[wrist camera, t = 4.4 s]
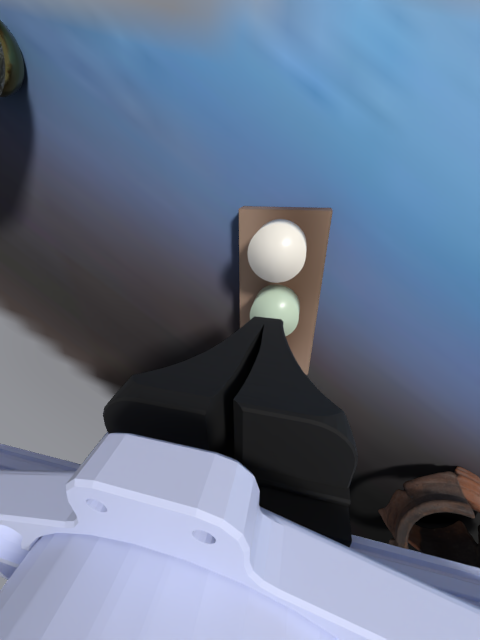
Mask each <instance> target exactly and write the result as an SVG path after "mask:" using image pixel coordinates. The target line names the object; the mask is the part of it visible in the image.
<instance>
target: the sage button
mask: <svg viewBox="0 0 480 640" xmlns="http://www.w3.org/2000/svg"><path fill="white" fill-rule="evenodd" d="M299 310H300V302H299V299H298V297H297V295H296V294H295V292H294V291H293V290H291V289H290V288H288V287H286V286H284V285H279V284H274V285H269V286H266V287H264V288H263V289H262V290H261V291H260V292H259V293H258V294H257V296H256V298H255V300H254V303H253V305H252V307H251V310H250V320H251V319H252V318H253V317H254V316H256V317H265V318H274V319H281V320H282V321H283V328H284V333H285V336H287V335H289V334H291V333H292V332H293V331H294V330H295V328H296V327H297V324H298V320H299Z"/></svg>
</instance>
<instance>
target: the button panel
mask: <svg viewBox="0 0 480 640" xmlns="http://www.w3.org/2000/svg"><path fill="white" fill-rule="evenodd" d="M331 217H332V209H331V208H304V207H252V206H243V207H241V208H239V282H240V328H241V327H242V326H244V325H245V324H246V323H247V322H248V321H249V320H250V310H251V307H252V305H253V303H254V300H255V298H256V296H257V294H258V293H259V292H260V291H261V290H262V289H263V288H264V287H266V286H269V285H274V284H279V285H284V286H286V287H288V288H290V289H291V290H293V291H294V292H295V294H296V295H297V297H298V299H299V302H300V310H299V320H298V324H297V327H296V328H295V330H294V331H293V332H292V333H291V334H289V335H287V336H286V339H287V342H288V345H289V347H290V349H291V351H292V353H293V355H294V357H295V359H296V361H297V363H298V364H299V366H300V367H301V369H302V370H303V372H304V373H305V374H307V375H308V370H309V363H310V357H311V350H312V343H313V337H314V330H315V323H316V317H317V310H318V304H319V297H320V290H321V284H322V277H323V270H324V264H325V257H326V250H327V244H328V237H329V230H330V224H331ZM277 219H285V220H289V221H291V222H293V223H295V224H296V225H298V226H299V227H300V228H301V230H302V231H303V233H304V235H305V237H306V242H307V249H306V259H305V263H304V265H303V267H302V269H301V271H300V272H299V273H298V274H297V275H296V276H295V277H293V278H292V279H290V280H288V281H285V282H279V283H274V282H269V281H266V280H264V279H262V278H260V277H259V276H258V275H256V274H255V272H254V271H253V270H252V268H251V266H250V264H249V261H248V246H249V243H250V241H251V239H252V238H253V236H254V235H255V234H256V233H257V232H258V231H259V229H260V228H261V227H262V226H263V225H265V224H266V223H268V222H270V221H272V220H277Z"/></svg>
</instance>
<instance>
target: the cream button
mask: <svg viewBox="0 0 480 640" xmlns="http://www.w3.org/2000/svg"><path fill="white" fill-rule="evenodd" d="M306 249H307V242H306V237H305V235H304V233H303V231H302V230H301V228H300V227H299V226H298V225H296V224H295V223H293V222H291V221H289V220H285V219H277V220H272V221H270V222H268V223H266V224H265V225H263V226H262V227H261V228H260V229H259V231H258V232H257V233H256V234H255V235H254V236H253V238H252V239H251V241H250V243H249V246H248V261H249V264H250V266H251V268H252V270H253V271H254V272H255V274H256V275H258V276H259V277H260V278H262V279H264V280H266V281H269V282H274V283H279V282H285V281H288V280H290V279H292V278H293V277H295V276H296V275H297V274H298V273H299V272H300V271H301V269H302V267H303V265H304V263H305V259H306Z"/></svg>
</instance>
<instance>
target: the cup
mask: <svg viewBox="0 0 480 640" xmlns="http://www.w3.org/2000/svg"><path fill="white" fill-rule="evenodd" d="M23 80H24V62H23V58H22V54H21V51H20V48H19V46H18V44H17V42H16V40H15V38H14V36H13V35H12V33H11V32H10V30H9V29H8V28H7V26H6V25H5V24H4V23H3V22H2V21H1V20H0V97H7V96H10V95H13V94H15V93H16V92H18V90H19V89H20V88H21V86H22V84H23Z"/></svg>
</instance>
